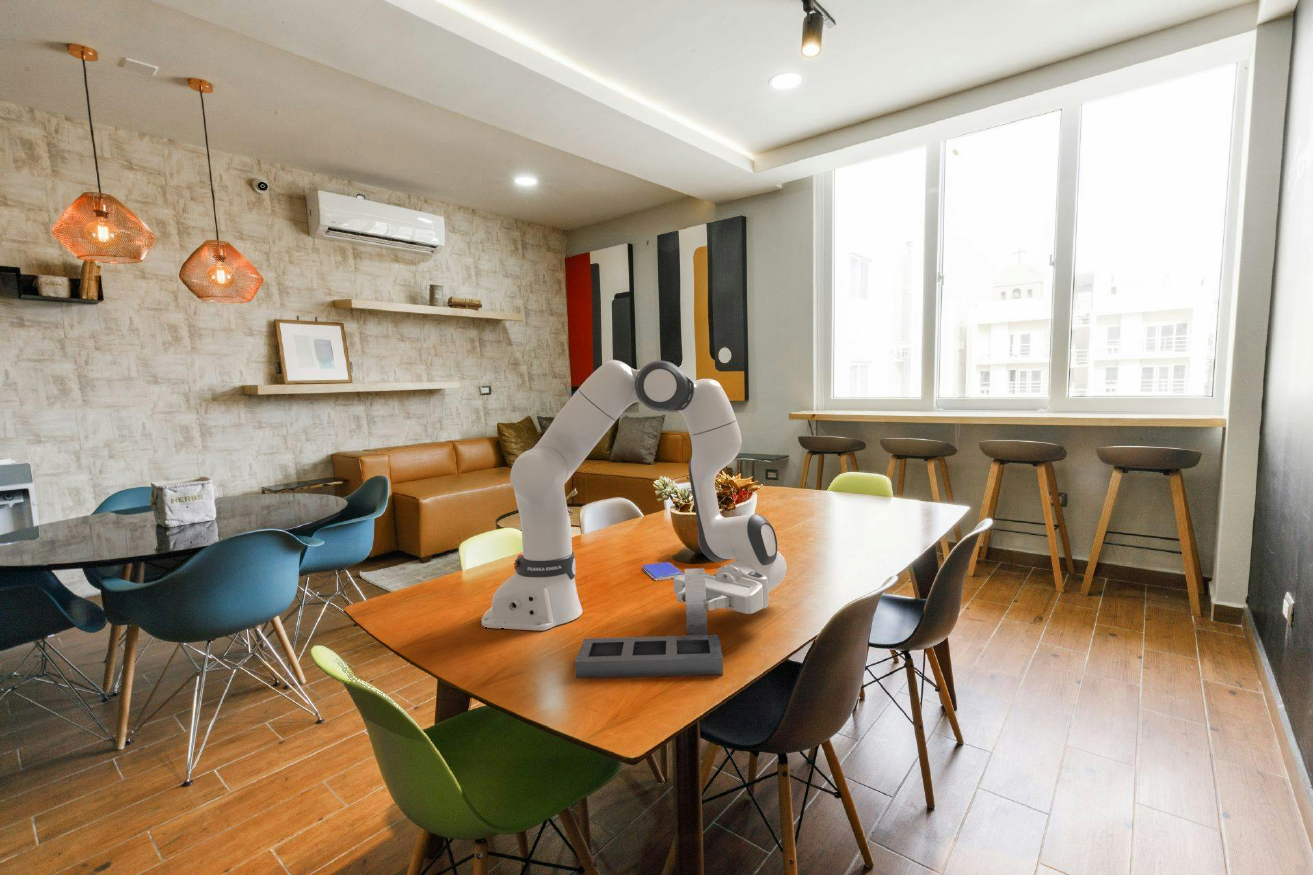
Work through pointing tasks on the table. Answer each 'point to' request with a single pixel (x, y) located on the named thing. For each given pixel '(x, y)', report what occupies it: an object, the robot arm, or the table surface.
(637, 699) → the table surface
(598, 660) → the dark grey flat frame
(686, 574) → the post
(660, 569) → the hard drive
